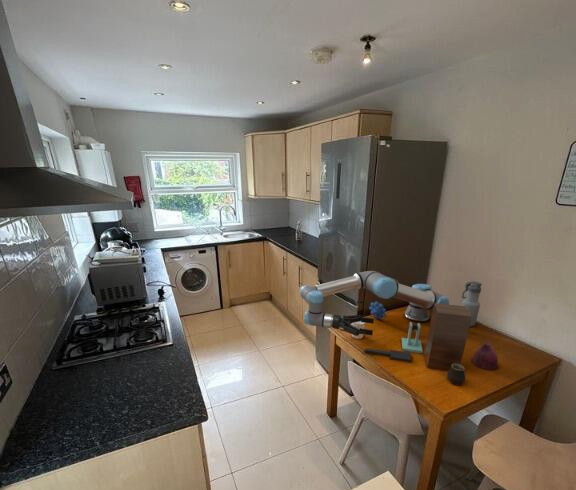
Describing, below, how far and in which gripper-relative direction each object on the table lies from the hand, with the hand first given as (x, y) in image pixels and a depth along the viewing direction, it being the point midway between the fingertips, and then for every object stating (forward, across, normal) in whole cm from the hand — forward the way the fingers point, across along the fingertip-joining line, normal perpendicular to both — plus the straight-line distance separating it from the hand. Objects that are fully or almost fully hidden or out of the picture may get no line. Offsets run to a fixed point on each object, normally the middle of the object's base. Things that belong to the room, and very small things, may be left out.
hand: (373, 326), depth 157 cm
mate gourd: (+39, +14, -16) cm, 44 cm away
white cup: (-8, -16, -16) cm, 24 cm away
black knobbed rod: (+22, -18, -8) cm, 29 cm away
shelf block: (+35, 0, -15) cm, 38 cm away
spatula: (+9, 0, -15) cm, 18 cm away
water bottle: (+58, -54, -16) cm, 81 cm away
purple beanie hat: (+56, -6, -16) cm, 58 cm away
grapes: (+2, -43, -16) cm, 46 cm away
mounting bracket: (+22, -13, -15) cm, 30 cm away
